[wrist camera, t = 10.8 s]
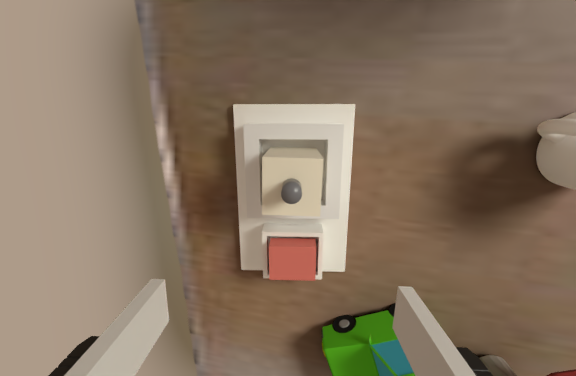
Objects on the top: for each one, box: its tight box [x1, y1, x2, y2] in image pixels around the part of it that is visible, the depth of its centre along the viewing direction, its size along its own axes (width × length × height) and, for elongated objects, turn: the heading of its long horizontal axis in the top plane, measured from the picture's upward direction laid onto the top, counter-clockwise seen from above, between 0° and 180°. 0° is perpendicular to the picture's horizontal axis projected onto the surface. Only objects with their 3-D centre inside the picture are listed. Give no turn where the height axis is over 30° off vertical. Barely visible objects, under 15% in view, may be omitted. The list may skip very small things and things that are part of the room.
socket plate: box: [233, 104, 355, 279], centre depth 30 cm, size 20×13×3 cm, turn 0°
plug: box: [262, 147, 324, 217], centre depth 25 cm, size 5×5×10 cm
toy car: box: [322, 303, 415, 376], centre depth 32 cm, size 10×13×10 cm
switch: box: [269, 238, 316, 281], centre depth 29 cm, size 4×5×2 cm
